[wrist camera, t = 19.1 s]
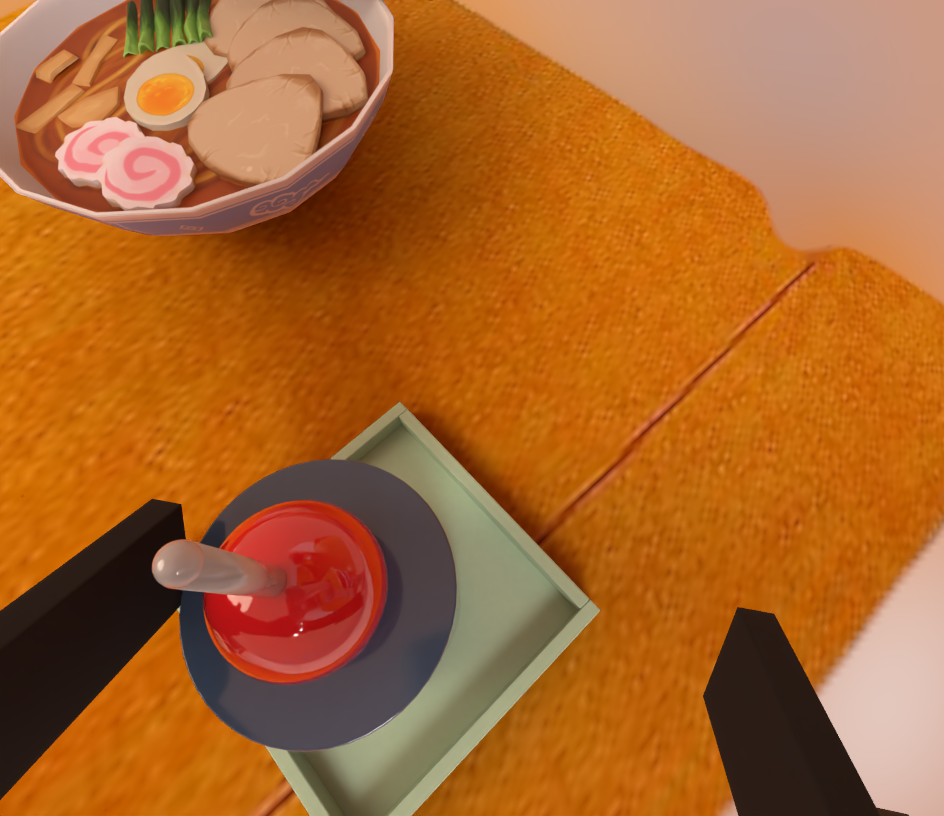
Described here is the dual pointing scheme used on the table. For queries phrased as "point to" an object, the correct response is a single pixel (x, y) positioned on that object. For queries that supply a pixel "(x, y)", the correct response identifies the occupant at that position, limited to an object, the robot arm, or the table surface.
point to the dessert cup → (315, 604)
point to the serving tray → (472, 648)
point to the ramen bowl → (188, 106)
